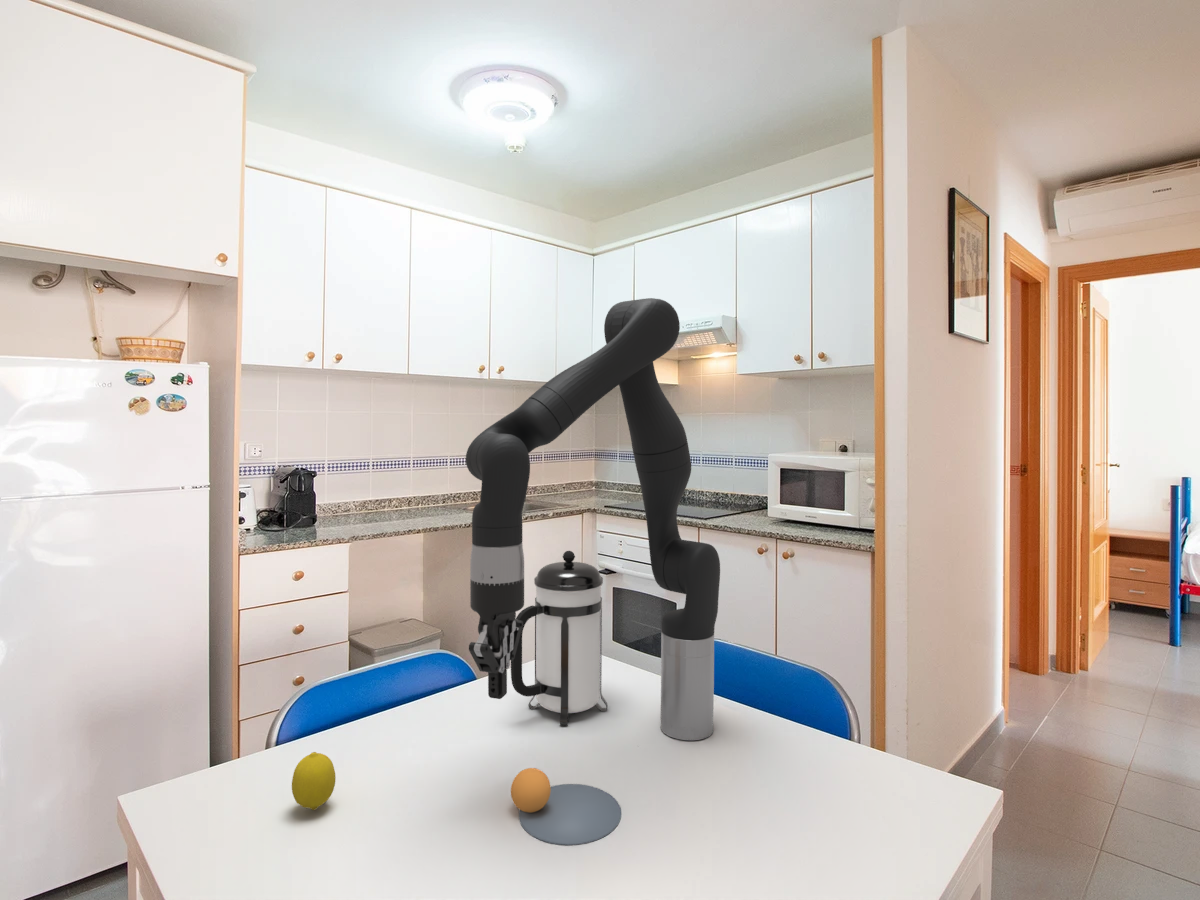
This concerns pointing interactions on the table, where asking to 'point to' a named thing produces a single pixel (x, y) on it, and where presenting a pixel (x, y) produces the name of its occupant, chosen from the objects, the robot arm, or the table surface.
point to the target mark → (573, 815)
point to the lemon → (313, 780)
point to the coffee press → (564, 639)
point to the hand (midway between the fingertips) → (497, 696)
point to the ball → (530, 790)
